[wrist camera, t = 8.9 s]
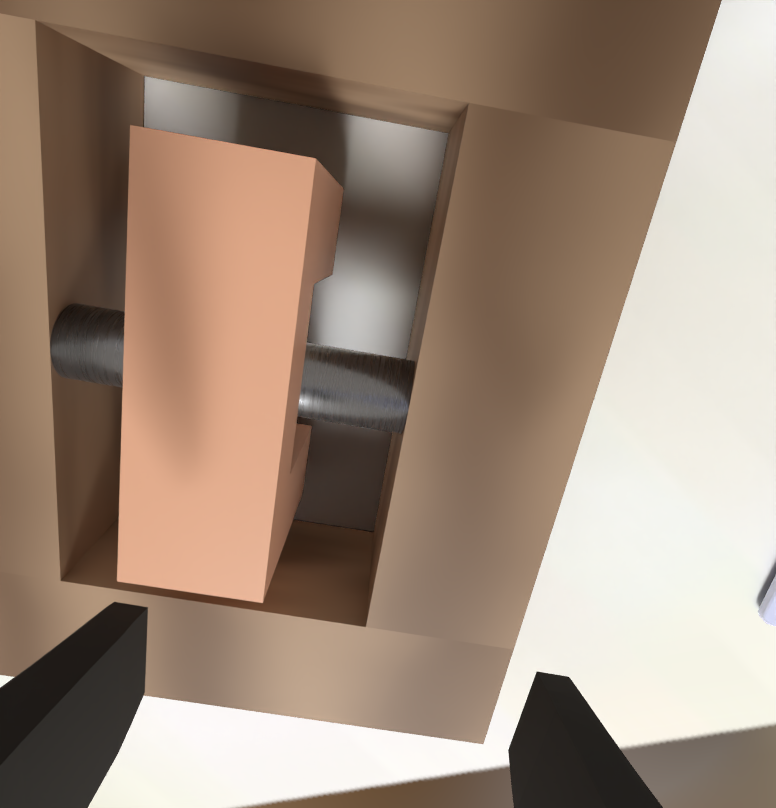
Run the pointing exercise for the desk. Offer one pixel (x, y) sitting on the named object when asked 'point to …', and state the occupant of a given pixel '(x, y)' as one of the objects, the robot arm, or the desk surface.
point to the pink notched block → (216, 357)
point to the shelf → (329, 366)
